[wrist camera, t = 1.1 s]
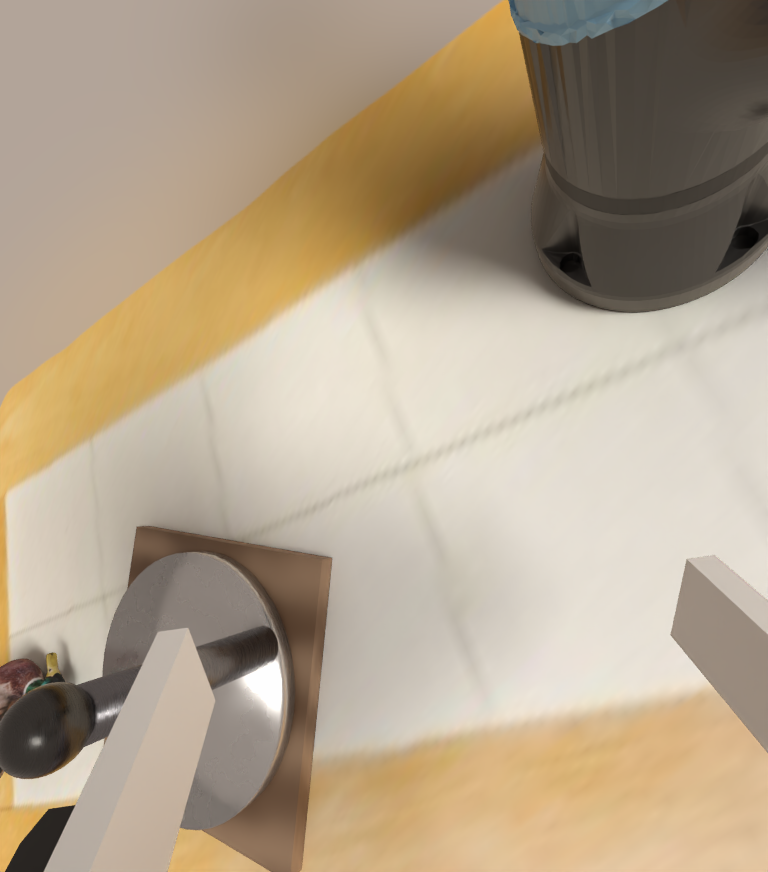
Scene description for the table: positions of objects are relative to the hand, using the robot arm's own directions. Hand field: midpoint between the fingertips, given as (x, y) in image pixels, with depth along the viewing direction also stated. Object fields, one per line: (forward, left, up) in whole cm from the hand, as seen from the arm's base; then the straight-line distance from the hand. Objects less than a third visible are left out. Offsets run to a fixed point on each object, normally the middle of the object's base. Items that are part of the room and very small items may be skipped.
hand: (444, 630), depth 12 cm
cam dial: (+14, -29, -19) cm, 38 cm away
